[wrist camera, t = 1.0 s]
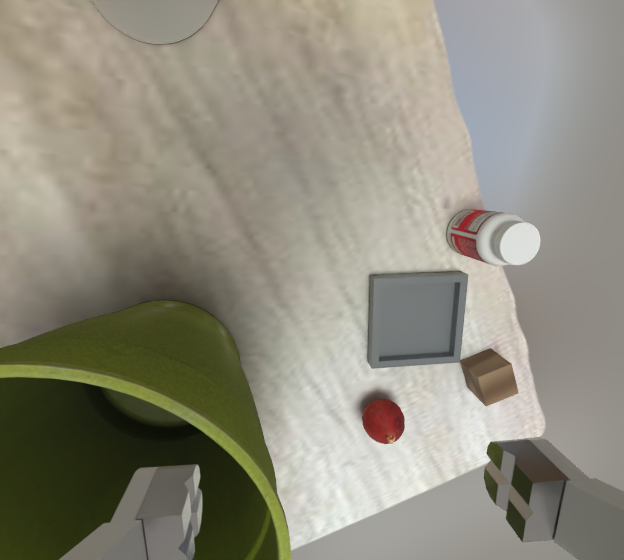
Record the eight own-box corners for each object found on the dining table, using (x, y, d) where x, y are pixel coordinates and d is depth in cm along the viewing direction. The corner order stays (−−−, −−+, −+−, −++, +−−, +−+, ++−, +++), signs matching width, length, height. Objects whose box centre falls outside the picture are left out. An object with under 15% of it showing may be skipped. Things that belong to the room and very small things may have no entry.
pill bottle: (481, 256, 50) (537, 275, 40) (440, 251, 50) (487, 268, 39) (493, 212, 49) (554, 219, 38) (451, 205, 48) (502, 211, 37)
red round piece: (384, 381, 54) (403, 414, 46) (400, 410, 55) (421, 446, 48) (350, 400, 54) (364, 435, 46) (367, 428, 55) (382, 467, 48)
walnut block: (459, 360, 54) (478, 377, 49) (490, 348, 54) (511, 363, 50) (467, 387, 56) (486, 406, 51) (497, 375, 56) (518, 393, 51)
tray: (369, 275, 49) (374, 278, 47) (460, 271, 51) (468, 274, 48) (367, 361, 52) (371, 368, 50) (452, 355, 54) (459, 362, 52)
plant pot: (71, 461, 51) (-162, 778, 24) (39, 256, 44) (-351, 374, 16) (279, 451, 55) (287, 719, 27) (282, 259, 47) (296, 361, 20)
